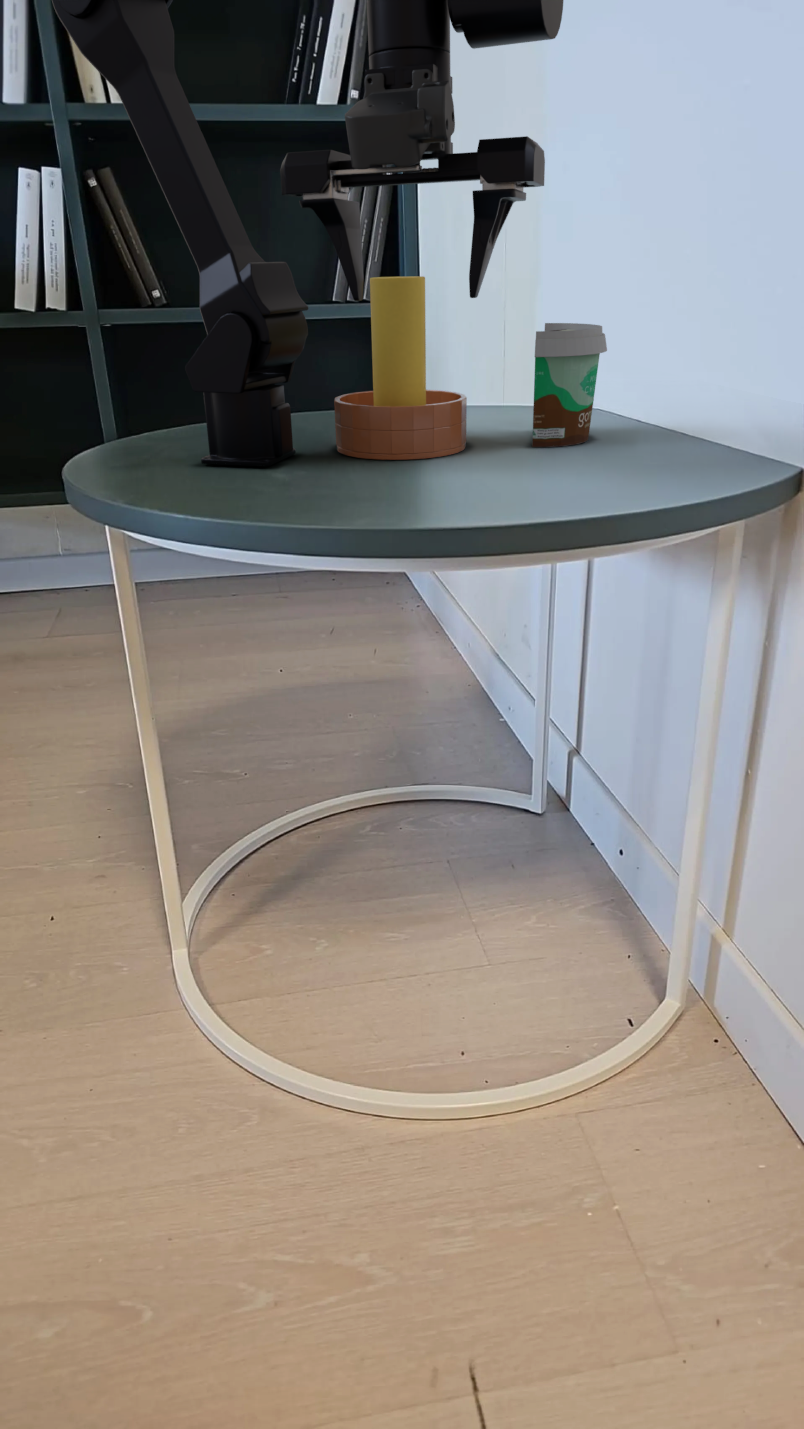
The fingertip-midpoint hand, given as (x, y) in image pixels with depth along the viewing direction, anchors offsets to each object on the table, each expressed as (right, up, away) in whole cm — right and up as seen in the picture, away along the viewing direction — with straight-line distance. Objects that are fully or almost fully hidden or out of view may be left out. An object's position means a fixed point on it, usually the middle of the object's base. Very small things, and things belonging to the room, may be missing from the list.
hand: (415, 299), depth 74 cm
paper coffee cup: (+15, -6, +18) cm, 24 cm away
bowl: (-1, -7, +16) cm, 17 cm away
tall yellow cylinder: (-1, -7, +16) cm, 17 cm away
